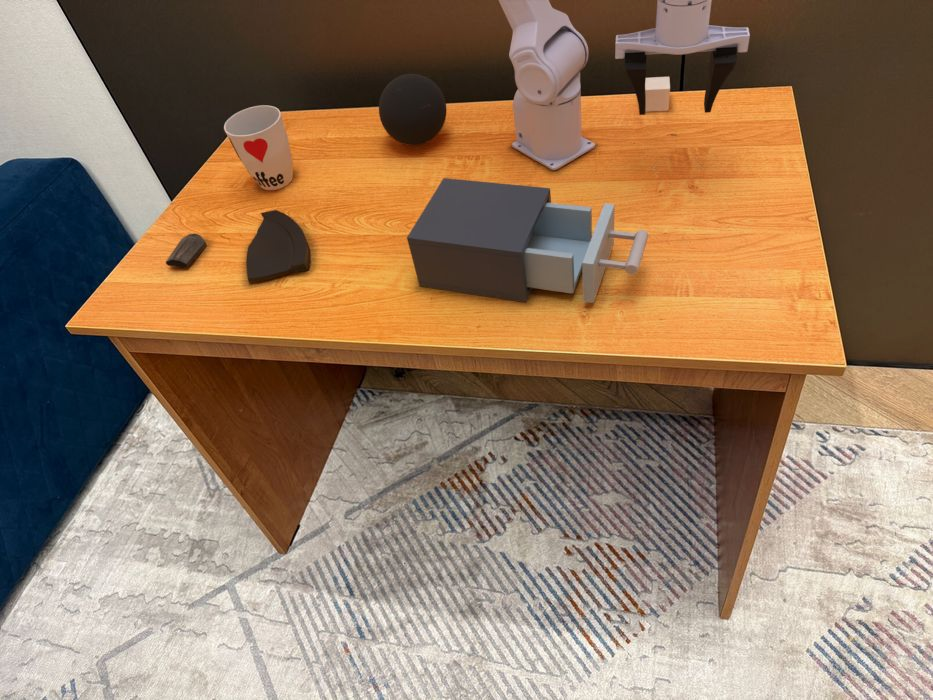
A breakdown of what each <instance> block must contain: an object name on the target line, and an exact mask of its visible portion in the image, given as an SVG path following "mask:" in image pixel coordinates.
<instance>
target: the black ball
mask: <svg viewBox="0 0 933 700" xmlns="http://www.w3.org/2000/svg"><path fill="white" fill-rule="evenodd" d="M447 110H448V109H447V103H446V99H445V95H444V93H443V92H442V89H441V88H440V87H439V86H438V84H437V83H435V82H434V81H433V80H432V79H430V78H429V77H427V76H424V75H422V74H417V73H406V74H402V75H399V76H397V77H396V78H394V79H392V80H391V81H390V82H388V84H386V86H385V88H384V89H383V90H382V93H381V95H380V98H379V102H378V115H379V119H380V123H381V125H382V126H383V129H384V130H385V132H386V133H387V134H388V135H389V136H390V137H391V138H392V139H393V140H395V141H396V142H399V143H400V144H403V145H406V146H420V145H424V144H427V143H428V142H431V141H432V140H433V139H435V138H436V137H437V136H438V135H439V133H440V132H441V131H442V129H443V127H444V125H445V123H446V118H447Z"/></svg>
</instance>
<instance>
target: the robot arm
mask: <svg viewBox="0 0 933 700" xmlns="http://www.w3.org/2000/svg"><path fill="white" fill-rule="evenodd" d="M656 1H657V4H656V16H655V17H656V18H655V27H653V28H649V29H645V30H641V31H635V32H631V33H625V34H616V35H615V46H614V47H615V53H614V54H615V55H614V59H615V60H621V59H624V71H625V73H626V75H627V77H628V79H629V81H630V83H631V85H632V87H633V91H634V93H635V96H636V101H637V104H638V113H639V114H638V115H640V116H645V115H646V112H645V109H646V94H645V81H646V78H647V77H646V76H647V55H664V54H667V55H678V56H679V55H690V54H693V53H702V52H703V53H704V52H710V55H709V57H710V58H709V68H708V78H707V81H706V82H707V83H706V86H705V93H704V98H703V99H704V100H703V111H704V113H708V114H709V113H711V112H712V109H713V106H714V102H715V100H716V98H717V96H718V94H719V91H720V89H721V88H722V87H723V84H724V83H725V81H726V80H727V78H728V77H729V76H730V74H731V73H732V72H733V70H734V69H735V67H736V65H737V63H738V56H737V55H738V54H737V53H748V49H749V43H750V38H751V35H750V34H751V33H750V29H749V27H734V26H733V27H731V26H721V25H710V17H711V10H712V9H711V7H712V1H713V0H656ZM498 2H499V4H500V6H501V9H502V11H503V13H504V16H505V17H506V19H507V22H508V25H510V28H511V31H512V37H511V42H510V47H509V48H510V49H509V52H508V53H509V54H508V57H509V60H510V62H511V64H512V66H513V71H514V81H515V86H516V88H517V90H516V92H515V93H514V97H513V100H512V112H513V122H514V131H515V141H514V142H512V143H511V147H512V148H513V149H515V150H517V151H518V152H520V153H522V154H524V155H526V156H527V157H529V158H531V159H532V160H534V161H535V162H538V163H539V164H541V165H543V166H545V167H546V168H548V169H549V170H552V171H556V170H557V171H558V170H559V169H560V168H562V167H564V166H566V165H567V164H568V163H570V162H572V161H574V160H576V159H577V158H579V157H581V156H583V155H584V154H586V153H588V152H589V151H591V150H593V149H595V147H596V143H595V142H593V141H592V140H589V139H587V138H585V137H583V134H582V132H583V131H582V94H581V93H582V92H581V86H582V85H581V71H582V70H583V69H584V68H585V67H586V65H587V63H588V61H589V46H588V43H587V41H586V39H585V38H584V36H583V35H582V34H581V33H580V32H579V31H578V30H577V29H576V28H575V27H574V26H573V23H572V22H571V20H570V18H569V15H568V14H567V13H565V12H562V11H560V10H558V9H555V8H554V7H552V5H551V2H550V0H498Z"/></svg>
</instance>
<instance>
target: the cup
mask: <svg viewBox="0 0 933 700" xmlns="http://www.w3.org/2000/svg"><path fill="white" fill-rule="evenodd" d="M223 131H224V132H225V134H226V136H227V138H228V140H229V142H230V144H231V147H233V149H234V152H235V154H236V156H237V157H238V158H239V161H240V162H241V163H242V165H243V167H244V168H245V169H246V171H247V172H248V174H249V176H250V177H252V179H254V181H255V182H256V183H257V184H258V185H259V187H260V188H261V189H262V190H265V191H277V190H281V189H282V188H284V187H286V186H288V185H289V184H291V182H292V181H293V179H294V173H293V172H294V171H293V169H294V168H293V156H292V152H291V145H290V141H289V136H288V133H287V129H286V126H285V123H284V120H283V117H282V113H281V111H280V109H279V108H277V107H276V106H273V105H266V104H265V105H264V104H262V105H255V106H251V107H248V108H245V109H242V110H240V111H237V112H236V113H234V114H233V115H231V116H230V117H229V118H228V119H227V120H226V121H225V122H224V125H223Z"/></svg>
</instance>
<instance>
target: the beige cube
mask: <svg viewBox="0 0 933 700" xmlns="http://www.w3.org/2000/svg"><path fill="white" fill-rule="evenodd" d="M670 81H671V80H670V76H655V77H646V81H645V94H646V109H645V113H646V112H647V113H649V112H668V111H669V108H670V96H671V95H670V94H671V82H670Z"/></svg>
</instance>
